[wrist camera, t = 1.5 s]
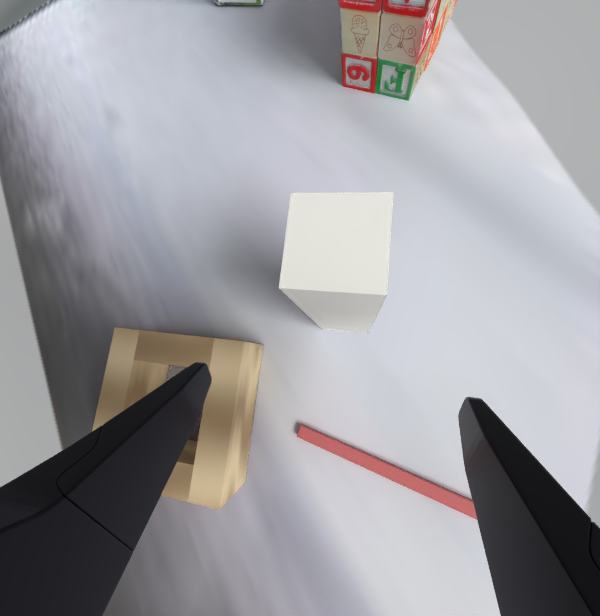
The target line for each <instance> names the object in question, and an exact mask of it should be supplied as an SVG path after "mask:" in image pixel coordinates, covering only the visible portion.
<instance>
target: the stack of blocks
mask: <svg viewBox="0 0 600 616" xmlns="http://www.w3.org/2000/svg"><path fill="white" fill-rule="evenodd" d="M456 1H457V0H339V6H340V23H341V45H342V52H341V57H342V80H343V86H344V87H348V88H353V89H357V90H362V91H366V92H371V93H378V94H382V95H387V96H391V97H395V98H400V99H404V100H410V98H411V96H412V94H413V92H414V90H415V88H416V86H417V84H418V82H419V80H420V78H421V75H422V73H423V72H424V71H425V69H426V67H427V65H428V63H429V61H430V59H431V57H432V55H433V53H434V51H435V49H436V46H437V44H438V42H439V40H440V38H441V36H442V34H443V32H444V30H445V28H446V26H447V24H448V22H449V20H450V18H451V15H452V12H453V9H454V6H455V4H456Z"/></svg>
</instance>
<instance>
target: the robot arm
mask: <svg viewBox="0 0 600 616" xmlns="http://www.w3.org/2000/svg"><path fill="white" fill-rule="evenodd" d="M211 382H212V377H211V374H210V371H209V368H208V365H207V364H206V363H203V362H195V363H193V364H192V365H190V366H189V367H187V368H186V369H184V370H183V371H181V372H180V373H178V374H177V375H175V376H174V377H172V378H171V379H169V380H168V381H166V382H165V383H163V384H162V385H160V386H159V387H158V388H156V389H155V390H153V391H152V392H150V393H149V394H147V395H146V396H144V397H143V398H141V399H140V400H138V401H137V402H135V403H134V404H132V405H131V406H129V407H128V408H126V409H125V410H124V411H122V412H121V413H119V414H118V415H116V416H115V417H113V418H112V419H110V420H109V421H107V422H106V423H104V424H103V425H102V426H100V427H98V428H97V429H95V430H94V431H92V432H91V433H89V434H88V435H86V436H85V437H83V438H82V439H80V440H79V441H77V442H76V443H74V444H72V445H71V446H69V447H68V448H66V449H64V450H63V451H61V452H59V453H58V454H56V455H55V456H53V457H51V458H49V459H48V460H46V461H44V462H43V463H41V464H40V465H38V466H36V467H34V468H33V469H31V470H29V471H28V472H26V473H24V474H23V475H21V476H19V477H18V478H16V479H14V480H12V481H11V482H9V483H7V484H5V485H4V486H2V487H0V616H102V615H103V613H104V611H105V609H106V607H107V605H108V603H109V601H110V599H111V597H112V595H113V592H114V590H115V588H116V586H117V584H118V582H119V580H120V578H121V576H122V574H123V572H124V570H125V568H126V566H127V564H128V562H129V560H130V558H131V556H132V554H133V551H134V549H135V547H136V545H137V543H138V541H139V539H140V537H141V535H142V533H143V531H144V529H145V527H146V525H147V523H148V521H149V519H150V516H151V514H152V512H153V510H154V508H155V506H156V504H157V502H158V500H159V498H160V496H161V494H162V492H163V490H164V488H165V486H166V484H167V482H168V480H169V478H170V476H171V474H172V472H173V469H174V467H175V465H176V463H177V461H178V459H179V457H180V455H181V453H182V451H183V449H184V447H185V445H186V443H187V441H188V439H189V437H190V435H191V433H192V431H193V429H194V427H195V424H196V422H197V420H198V418H199V415H200V412H201V410H202V407H203V404H204V402H205V399H206V396H207V393H208V391H209V388H210V385H211ZM458 417H459V427H460V435H461V443H462V450H463V458H464V465H465V471H466V475H467V479H468V483H469V488H470V492H471V496H472V500H473V504H474V508H475V512H476V516H477V520H478V524H479V528H480V532H481V536H482V541H483V545H484V549H485V553H486V557H487V561H488V565H489V569H490V573H491V577H492V581H493V585H494V589H495V594H496V598H497V602H498V606H499V610H500V614H501V616H600V528H599V527H598V526H597V525H596V524H595V523H594V522H591V518H590V517H589V516H588V515H587V514H586V513H585V512H584V511H583V509H582V508H581V507H580V506H579V505H578V504H577V503H576V502H575V501H574V500H573V499H572V497H571V496H570V495H569V494H568V493H567V492H566V491H565V490H564V489H563V488H562V486H561V485H560V484H559V483H558V482H557V481H556V480H555V479H554V478H553V477H552V475H551V474H550V473H549V472H548V471H547V470H546V469H545V468H544V467H543V466H542V464H541V463H540V462H539V461H538V460H537V459H536V458H535V457H534V456H533V455H532V454H531V452H530V451H529V450H528V449H527V448H526V447H525V446H524V445H523V444H522V443H521V441H520V440H519V439H518V438H517V437H516V436H515V435H514V434H513V433H512V432H511V430H510V429H509V428H508V427H507V426H506V425H505V424H504V423H503V422H502V421H501V420H500V418H499V417H498V416H497V415H496V414H495V413H494V412H493V411H492V410H491V409H490V407H489V406H488V405H487V404H486V403H485V402H484V401H483V400H482V399H480V398H473V397H466V398H465V400H464V402H463V404H462V407H461V409H460V411H459V416H458Z"/></svg>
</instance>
